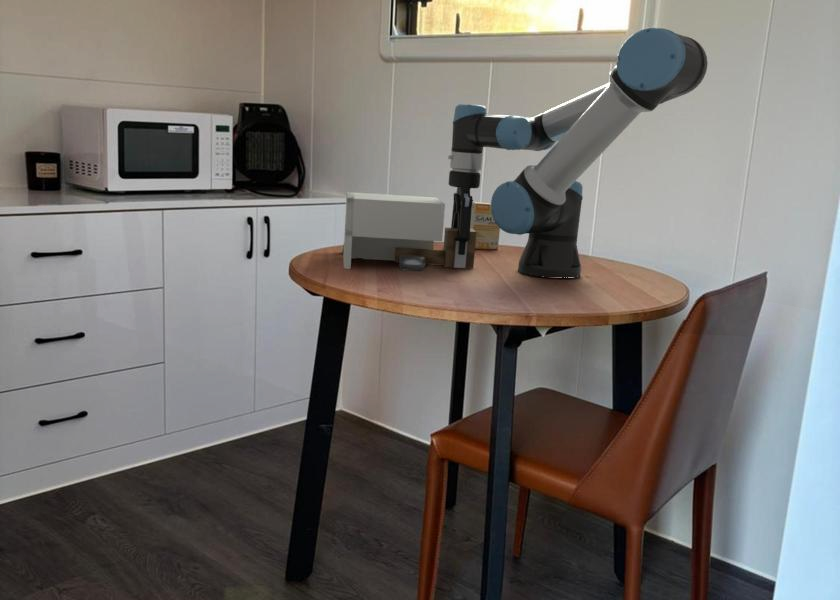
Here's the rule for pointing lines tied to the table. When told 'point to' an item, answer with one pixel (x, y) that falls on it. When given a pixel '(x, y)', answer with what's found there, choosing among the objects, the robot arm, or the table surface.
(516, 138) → the robot arm
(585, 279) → the table surface
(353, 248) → the shelf cabinet
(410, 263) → the shiny grey metal dome
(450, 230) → the tan block on stick
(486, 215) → the supplement box
